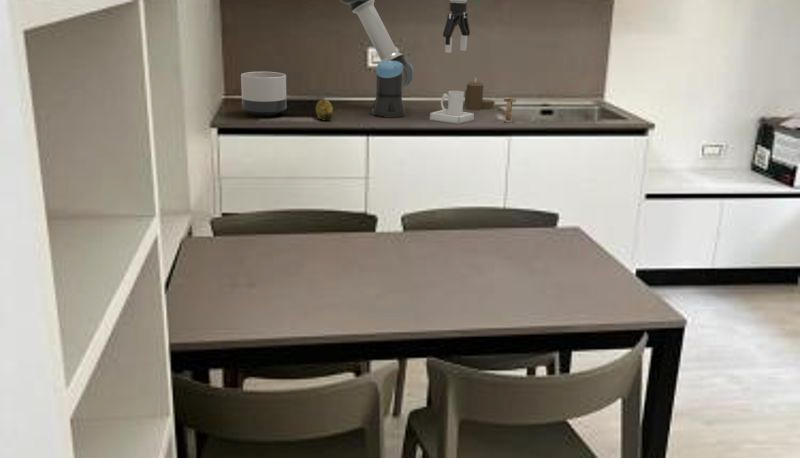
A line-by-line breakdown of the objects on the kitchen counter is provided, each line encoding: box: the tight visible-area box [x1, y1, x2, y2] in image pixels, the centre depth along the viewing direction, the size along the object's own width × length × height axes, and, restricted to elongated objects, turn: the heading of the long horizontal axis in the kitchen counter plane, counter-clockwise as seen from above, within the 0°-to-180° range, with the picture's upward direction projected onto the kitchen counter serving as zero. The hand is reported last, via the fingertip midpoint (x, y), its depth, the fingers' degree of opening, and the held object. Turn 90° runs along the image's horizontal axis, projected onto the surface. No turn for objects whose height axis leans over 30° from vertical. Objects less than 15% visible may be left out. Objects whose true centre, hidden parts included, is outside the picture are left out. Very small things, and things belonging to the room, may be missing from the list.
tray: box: [429, 109, 475, 125], centre depth 350 cm, size 15×13×3 cm
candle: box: [464, 77, 495, 111], centre depth 380 cm, size 14×14×15 cm
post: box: [503, 97, 517, 122], centre depth 350 cm, size 5×4×10 cm
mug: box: [440, 90, 465, 117], centre depth 348 cm, size 10×7×12 cm, turn 78°
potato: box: [315, 99, 334, 121], centre depth 342 cm, size 8×13×8 cm, turn 178°
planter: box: [240, 71, 287, 117], centre depth 345 cm, size 19×19×18 cm
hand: (455, 51), depth 354 cm, fingers open, 13 cm apart
